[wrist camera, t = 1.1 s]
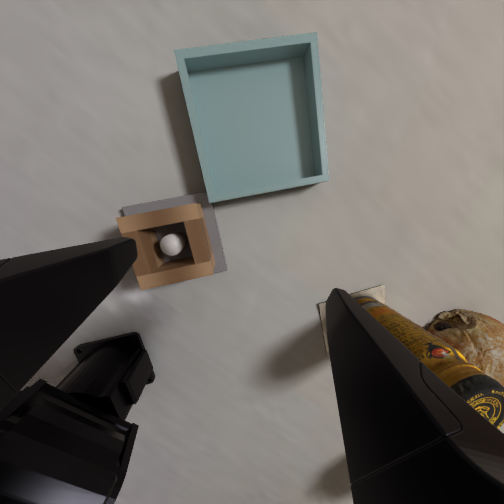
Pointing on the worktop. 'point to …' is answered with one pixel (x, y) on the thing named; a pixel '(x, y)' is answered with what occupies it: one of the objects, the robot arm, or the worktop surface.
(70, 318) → the robot arm
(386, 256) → the worktop surface
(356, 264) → the worktop surface
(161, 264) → the ring
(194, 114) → the tray
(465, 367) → the condiment
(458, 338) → the bread roll
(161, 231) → the gray plate with knob
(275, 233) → the worktop surface
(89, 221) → the worktop surface
